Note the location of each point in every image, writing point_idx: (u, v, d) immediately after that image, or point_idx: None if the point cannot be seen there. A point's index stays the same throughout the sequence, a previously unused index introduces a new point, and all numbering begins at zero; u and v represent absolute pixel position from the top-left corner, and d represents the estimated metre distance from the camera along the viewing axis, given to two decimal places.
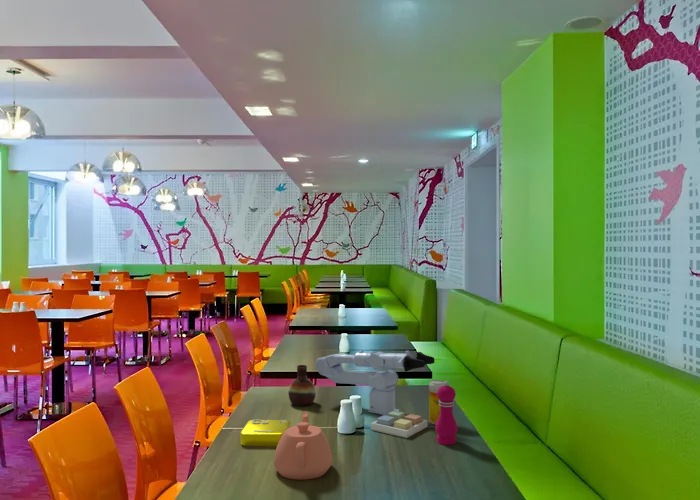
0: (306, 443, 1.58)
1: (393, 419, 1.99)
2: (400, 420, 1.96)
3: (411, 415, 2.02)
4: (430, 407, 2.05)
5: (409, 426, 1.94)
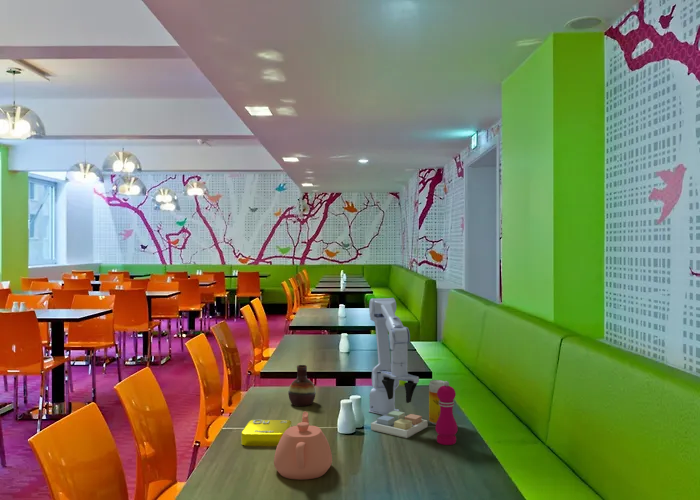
0: (306, 443, 1.58)
1: (393, 419, 1.99)
2: (400, 420, 1.96)
3: (411, 415, 2.02)
4: (430, 407, 2.05)
5: (409, 426, 1.94)
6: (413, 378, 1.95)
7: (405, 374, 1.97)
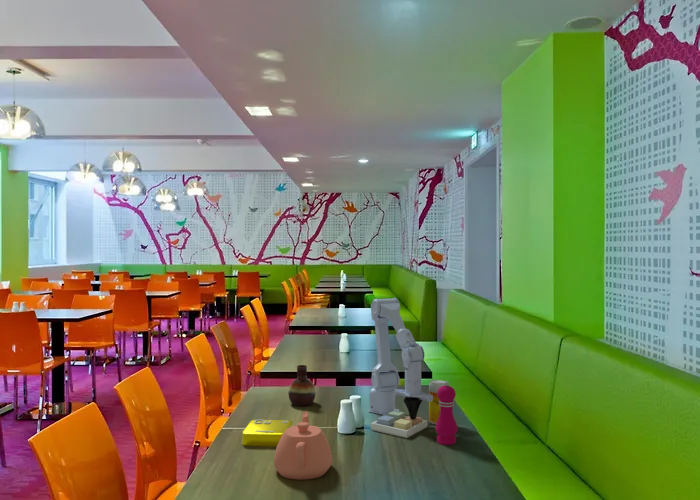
0: (306, 443, 1.58)
1: (393, 419, 1.99)
2: (400, 420, 1.96)
3: None
4: (430, 407, 2.05)
5: (409, 426, 1.94)
6: (427, 396, 1.96)
7: (419, 392, 1.98)
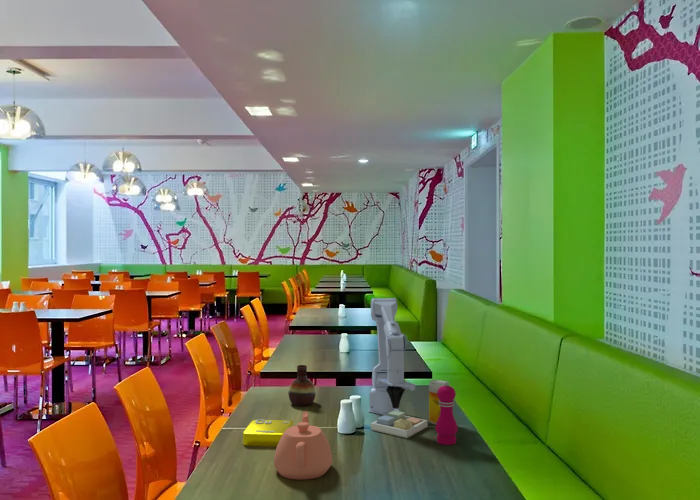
0: (306, 443, 1.58)
1: (393, 419, 1.99)
2: (400, 420, 1.96)
3: (411, 418, 2.02)
4: (430, 407, 2.05)
5: (409, 426, 1.94)
6: (409, 385, 1.95)
7: (401, 381, 1.97)
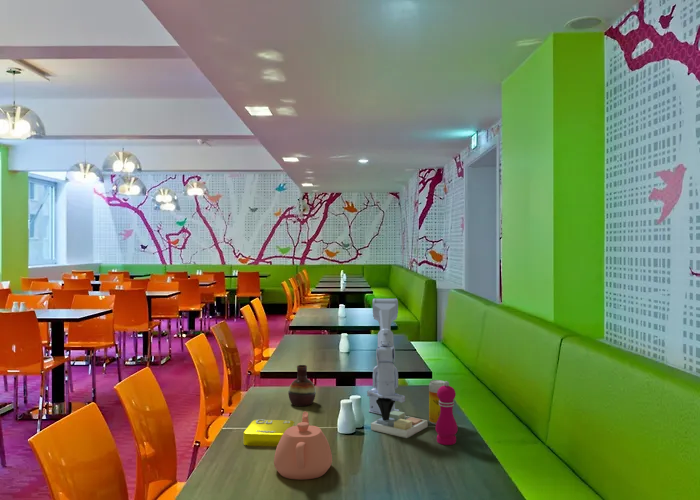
0: (306, 443, 1.58)
1: (393, 420, 1.99)
2: (400, 420, 1.96)
3: (411, 418, 2.02)
4: (430, 407, 2.05)
5: (409, 426, 1.94)
6: (399, 397, 1.94)
7: (391, 393, 1.97)
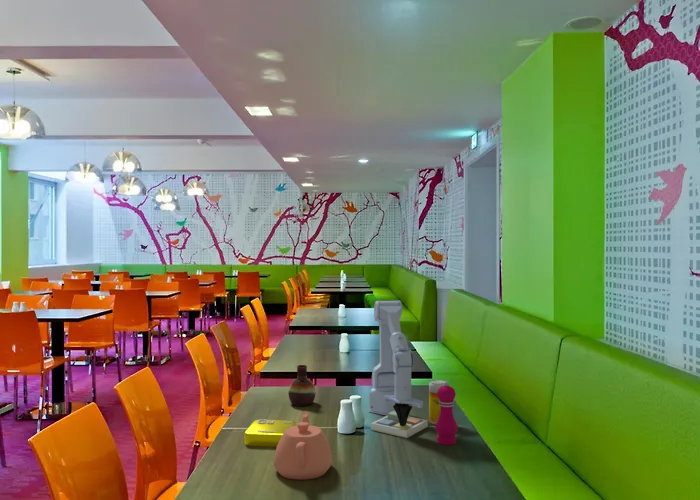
0: (306, 443, 1.58)
1: (393, 422, 1.99)
2: None
3: (411, 418, 2.02)
4: (430, 407, 2.05)
5: None
6: (417, 403, 1.90)
7: (409, 398, 1.93)
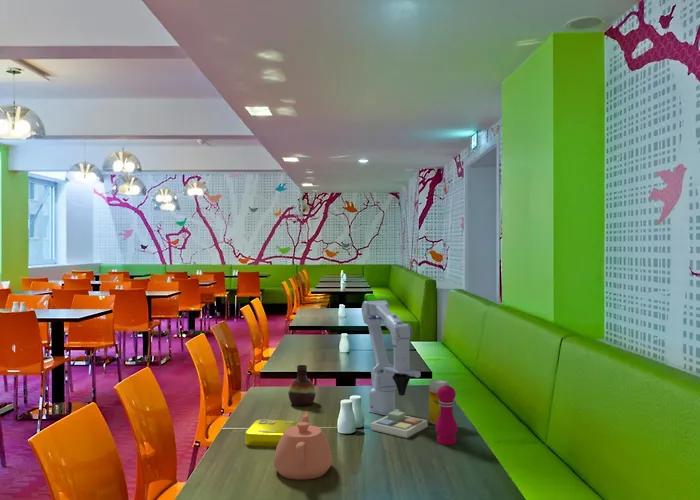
0: (306, 443, 1.58)
1: (393, 422, 1.99)
2: (400, 424, 1.96)
3: (411, 418, 2.02)
4: (430, 407, 2.05)
5: None
6: (415, 373, 2.01)
7: (407, 369, 2.03)
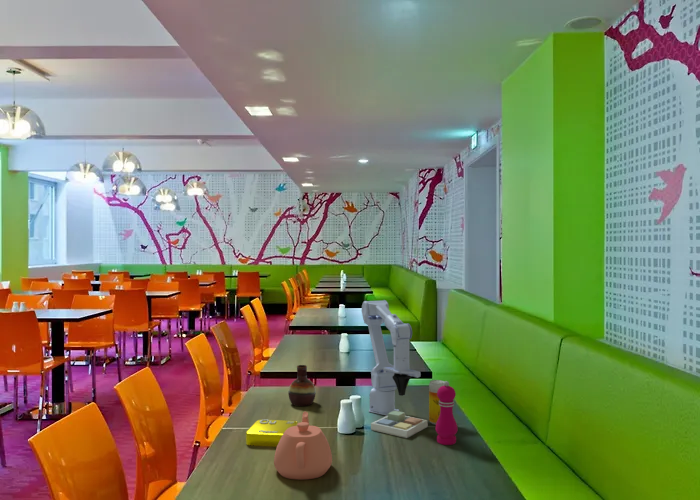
0: (306, 443, 1.58)
1: (393, 422, 1.99)
2: (400, 424, 1.96)
3: (411, 418, 2.02)
4: (430, 407, 2.05)
5: None
6: (415, 373, 2.01)
7: (407, 369, 2.03)
